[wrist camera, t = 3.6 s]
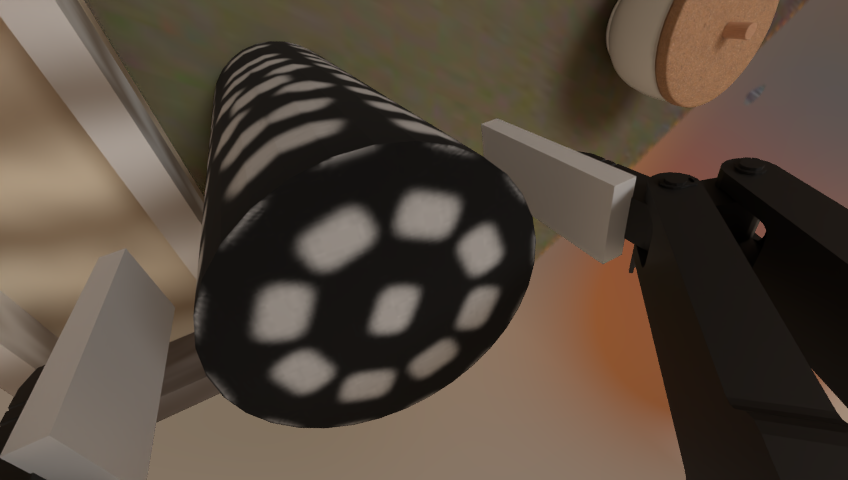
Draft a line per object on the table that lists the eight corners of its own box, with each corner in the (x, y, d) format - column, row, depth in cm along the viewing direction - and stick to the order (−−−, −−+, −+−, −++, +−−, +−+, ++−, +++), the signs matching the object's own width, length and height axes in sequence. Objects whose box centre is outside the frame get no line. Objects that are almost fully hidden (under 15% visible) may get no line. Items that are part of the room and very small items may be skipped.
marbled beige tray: (-449, -27, 13) (-835, -41, 8) (27, -93, 16) (-52, -128, 11) (91, 388, 28) (65, 464, 24) (274, 311, 32) (282, 364, 27)
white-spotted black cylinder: (220, 19, 20) (212, 85, 5) (362, 66, 25) (586, 178, 9) (208, 161, 24) (181, 457, 9) (335, 182, 28) (468, 403, 13)
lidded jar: (626, -82, 27) (771, -109, 20) (701, -26, 32) (836, -33, 25) (564, 73, 32) (663, 96, 25) (638, 100, 37) (737, 125, 30)
